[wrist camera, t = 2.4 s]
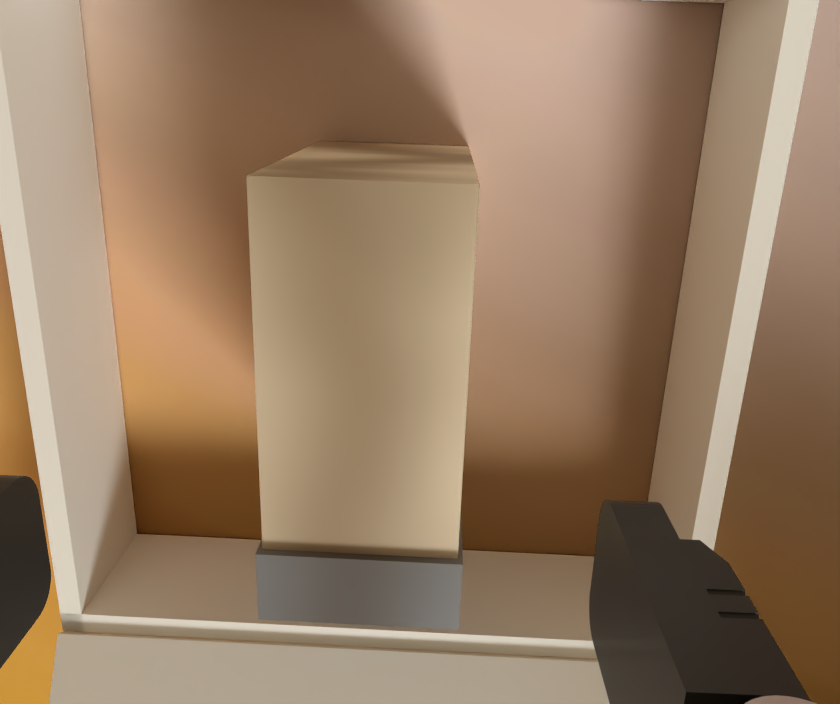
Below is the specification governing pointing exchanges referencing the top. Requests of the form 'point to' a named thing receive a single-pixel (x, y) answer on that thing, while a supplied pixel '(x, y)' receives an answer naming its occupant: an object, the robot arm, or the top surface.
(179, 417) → the top surface
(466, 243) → the capped box
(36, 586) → the robot arm
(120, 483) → the carton
